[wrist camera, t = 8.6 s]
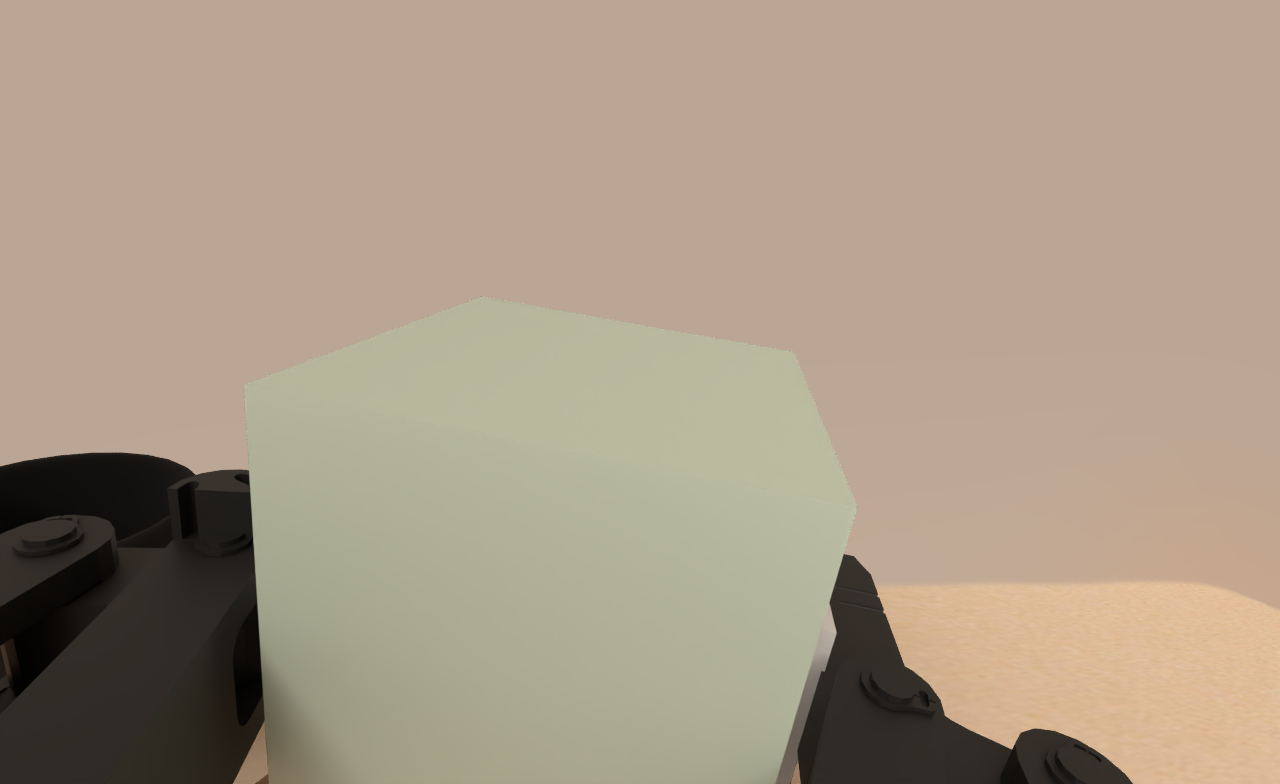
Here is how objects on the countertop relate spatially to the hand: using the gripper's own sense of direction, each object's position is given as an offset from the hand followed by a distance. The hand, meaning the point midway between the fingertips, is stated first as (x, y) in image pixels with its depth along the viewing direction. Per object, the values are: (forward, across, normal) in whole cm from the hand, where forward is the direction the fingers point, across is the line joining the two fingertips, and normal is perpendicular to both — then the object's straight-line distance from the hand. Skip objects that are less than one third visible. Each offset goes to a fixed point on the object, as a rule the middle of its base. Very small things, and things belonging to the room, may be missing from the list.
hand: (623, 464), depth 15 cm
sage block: (-5, 0, -6) cm, 8 cm away
